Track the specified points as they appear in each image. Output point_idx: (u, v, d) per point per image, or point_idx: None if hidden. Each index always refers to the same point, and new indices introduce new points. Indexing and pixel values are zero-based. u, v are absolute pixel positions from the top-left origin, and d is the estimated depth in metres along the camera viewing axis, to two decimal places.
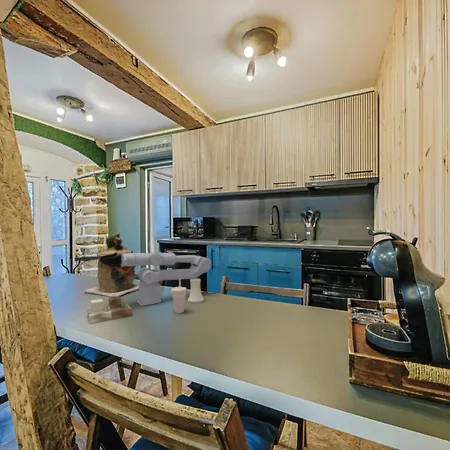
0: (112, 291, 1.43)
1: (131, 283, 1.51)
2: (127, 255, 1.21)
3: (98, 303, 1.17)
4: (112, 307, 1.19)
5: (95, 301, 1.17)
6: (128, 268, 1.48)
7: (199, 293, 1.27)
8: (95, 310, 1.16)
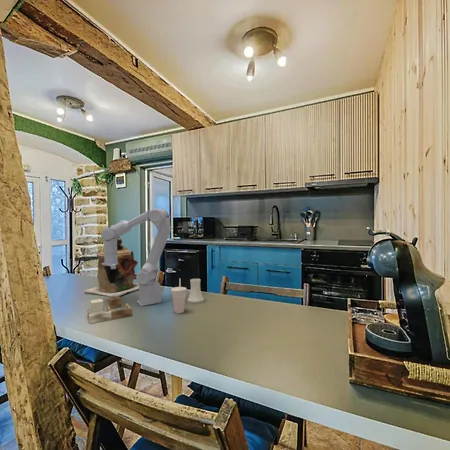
0: (112, 291, 1.43)
1: (131, 283, 1.51)
2: (106, 261, 1.26)
3: (98, 303, 1.17)
4: (112, 307, 1.19)
5: (95, 301, 1.17)
6: (128, 268, 1.48)
7: (199, 293, 1.27)
8: (95, 310, 1.16)
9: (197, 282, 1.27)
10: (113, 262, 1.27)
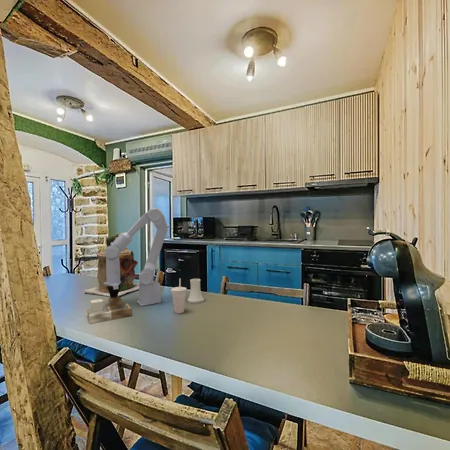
0: None
1: (131, 283, 1.51)
2: (109, 280, 1.21)
3: (98, 303, 1.16)
4: (112, 307, 1.19)
5: (95, 301, 1.17)
6: (128, 268, 1.48)
7: (199, 293, 1.27)
8: (95, 310, 1.16)
9: (197, 282, 1.27)
10: (115, 281, 1.22)
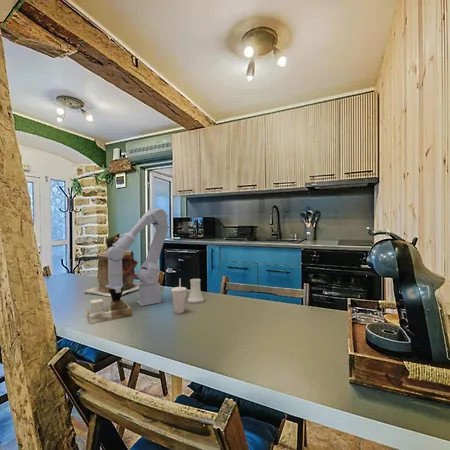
0: None
1: (131, 283, 1.51)
2: (111, 283, 1.16)
3: (98, 303, 1.17)
4: None
5: (95, 301, 1.17)
6: (128, 268, 1.48)
7: (199, 293, 1.27)
8: (95, 310, 1.16)
9: (197, 282, 1.27)
10: (118, 284, 1.16)
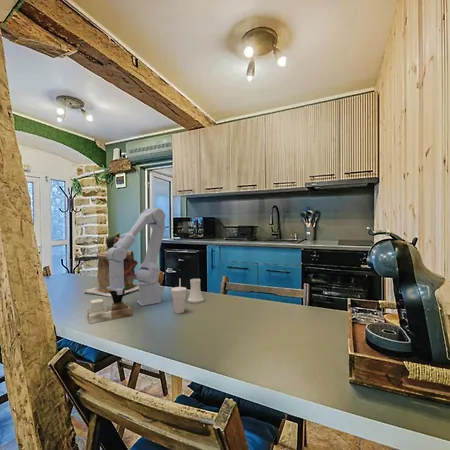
0: None
1: (131, 283, 1.51)
2: (112, 285, 1.13)
3: (98, 303, 1.16)
4: None
5: (95, 301, 1.17)
6: (128, 268, 1.48)
7: (199, 293, 1.27)
8: (95, 310, 1.16)
9: (197, 282, 1.27)
10: (119, 286, 1.14)
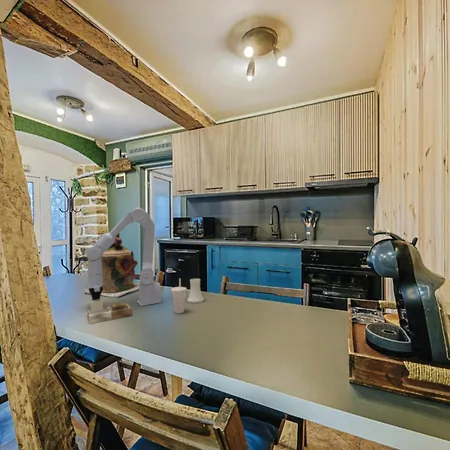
0: (112, 291, 1.42)
1: (131, 283, 1.50)
2: (90, 282, 1.18)
3: (98, 303, 1.16)
4: None
5: (95, 301, 1.17)
6: (128, 268, 1.47)
7: (199, 293, 1.27)
8: (95, 310, 1.16)
9: (197, 282, 1.27)
10: (97, 283, 1.19)
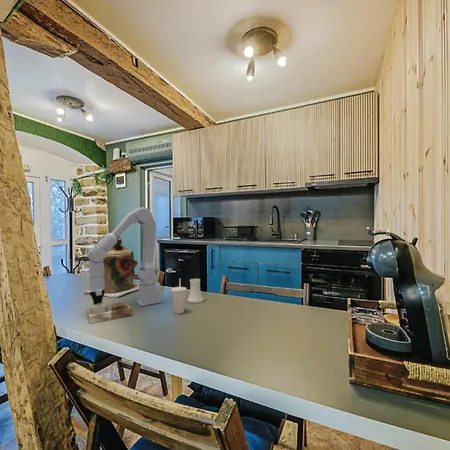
0: (112, 291, 1.42)
1: (131, 283, 1.50)
2: (91, 285, 1.12)
3: (100, 307, 1.10)
4: None
5: (97, 305, 1.11)
6: (128, 268, 1.47)
7: (199, 293, 1.27)
8: None
9: (197, 282, 1.27)
10: (99, 287, 1.13)
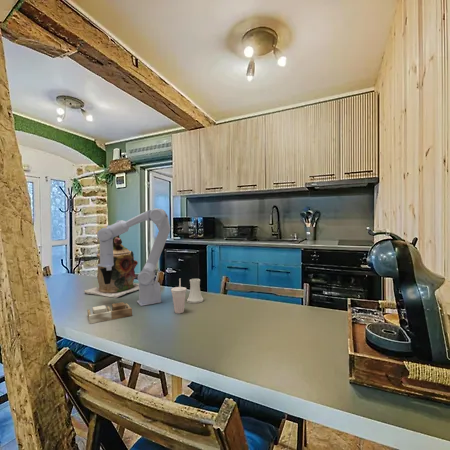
0: (112, 292, 1.42)
1: (131, 283, 1.50)
2: (102, 262, 1.23)
3: (101, 310, 1.07)
4: None
5: (98, 308, 1.08)
6: (128, 268, 1.47)
7: (199, 293, 1.27)
8: None
9: (197, 282, 1.27)
10: (109, 263, 1.24)
